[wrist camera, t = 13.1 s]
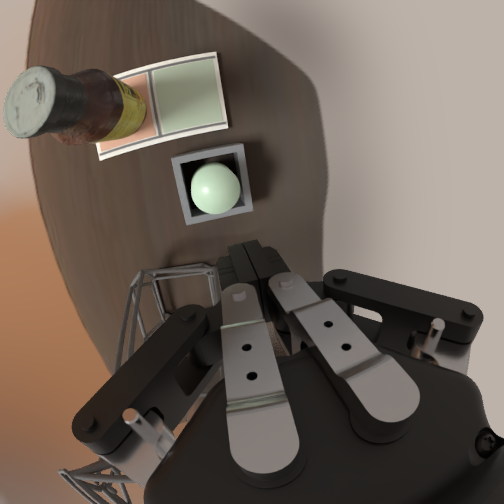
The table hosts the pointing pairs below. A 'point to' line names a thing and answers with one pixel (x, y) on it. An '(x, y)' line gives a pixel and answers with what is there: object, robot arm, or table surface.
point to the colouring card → (173, 102)
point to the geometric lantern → (87, 471)
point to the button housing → (242, 175)
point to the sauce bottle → (72, 106)
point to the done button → (214, 188)
